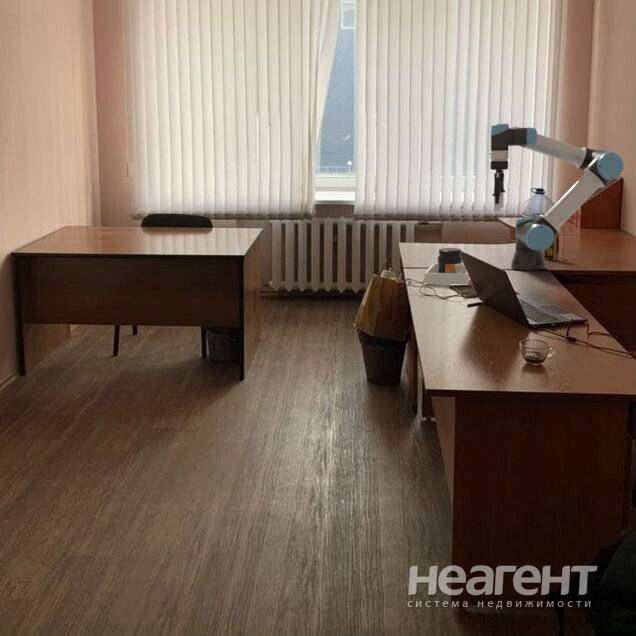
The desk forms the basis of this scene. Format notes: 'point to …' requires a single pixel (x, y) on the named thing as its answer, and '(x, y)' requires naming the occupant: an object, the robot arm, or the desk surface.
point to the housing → (445, 276)
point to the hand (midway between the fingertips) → (498, 209)
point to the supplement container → (449, 261)
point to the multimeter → (553, 249)
